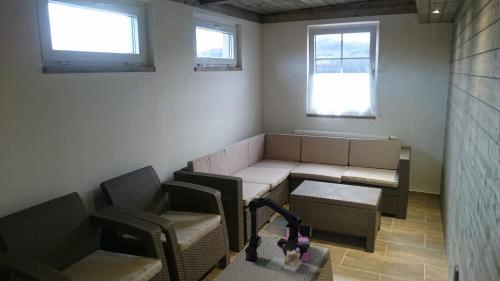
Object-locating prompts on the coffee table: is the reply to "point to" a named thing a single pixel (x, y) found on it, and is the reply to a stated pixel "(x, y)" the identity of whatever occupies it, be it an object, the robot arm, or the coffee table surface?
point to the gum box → (301, 240)
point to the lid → (292, 259)
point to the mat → (276, 263)
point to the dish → (292, 267)
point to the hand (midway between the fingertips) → (292, 258)
